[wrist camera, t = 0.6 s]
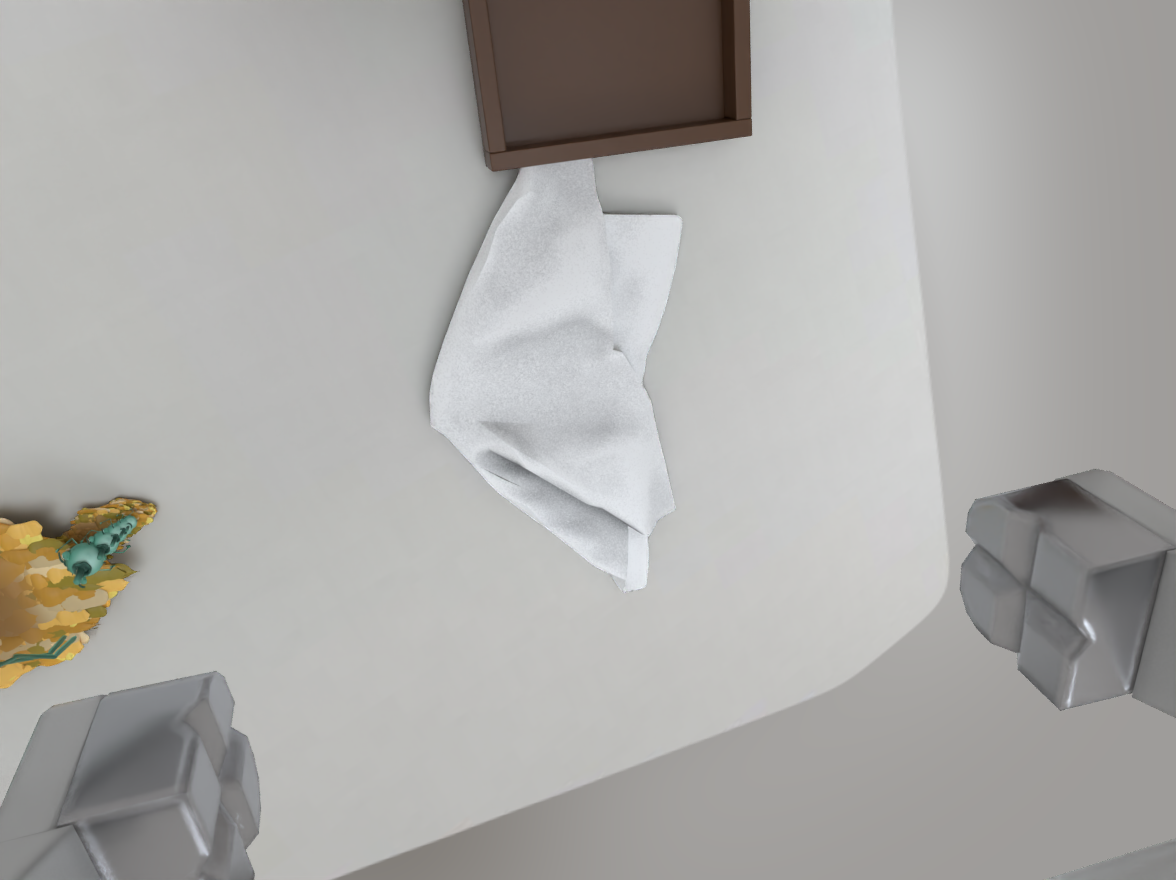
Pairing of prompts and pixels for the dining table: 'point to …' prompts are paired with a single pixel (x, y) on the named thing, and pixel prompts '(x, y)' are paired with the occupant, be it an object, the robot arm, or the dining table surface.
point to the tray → (606, 76)
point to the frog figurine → (60, 583)
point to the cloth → (564, 365)
